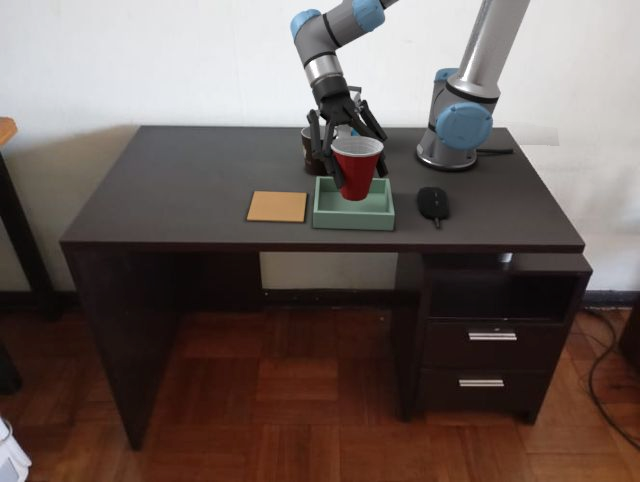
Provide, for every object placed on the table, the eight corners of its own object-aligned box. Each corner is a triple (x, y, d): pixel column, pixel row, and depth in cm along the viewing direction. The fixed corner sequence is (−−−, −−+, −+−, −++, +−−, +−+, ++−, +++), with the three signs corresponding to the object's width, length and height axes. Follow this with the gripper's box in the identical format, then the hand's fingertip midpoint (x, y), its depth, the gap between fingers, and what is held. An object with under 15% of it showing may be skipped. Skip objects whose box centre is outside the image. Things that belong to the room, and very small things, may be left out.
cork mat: (306, 194, 116) (306, 192, 116) (303, 222, 106) (303, 221, 106) (254, 192, 116) (254, 191, 116) (246, 220, 107) (246, 219, 106)
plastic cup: (381, 184, 112) (385, 134, 105) (377, 209, 104) (381, 157, 97) (333, 180, 114) (334, 130, 107) (325, 204, 105) (326, 152, 98)
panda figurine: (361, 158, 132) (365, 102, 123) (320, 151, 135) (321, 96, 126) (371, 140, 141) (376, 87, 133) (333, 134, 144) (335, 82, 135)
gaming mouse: (423, 227, 106) (425, 211, 103) (415, 192, 118) (418, 177, 115) (453, 228, 105) (456, 212, 103) (442, 193, 118) (445, 178, 115)
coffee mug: (332, 179, 122) (333, 141, 116) (297, 175, 124) (297, 137, 118) (340, 158, 132) (341, 122, 126) (308, 155, 133) (308, 119, 127)
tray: (387, 192, 117) (389, 178, 115) (392, 230, 105) (394, 215, 102) (316, 190, 118) (316, 176, 115) (313, 227, 105) (313, 212, 103)
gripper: (365, 84, 114) (398, 175, 112) (274, 100, 105) (309, 199, 103) (380, 67, 107) (416, 163, 105) (284, 82, 98) (321, 188, 96)
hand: (363, 181), depth 104 cm, fingers closed on plastic cup, 10 cm apart
